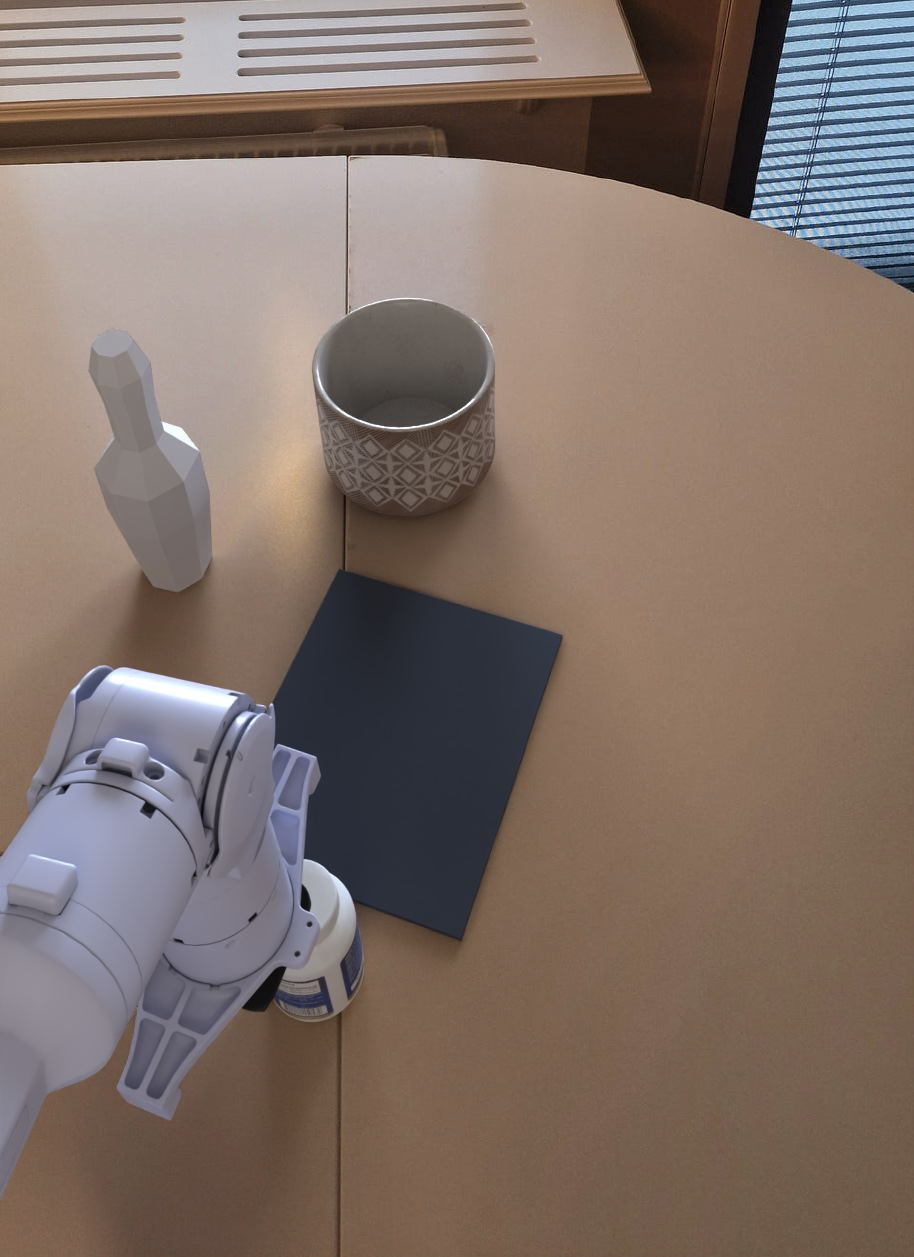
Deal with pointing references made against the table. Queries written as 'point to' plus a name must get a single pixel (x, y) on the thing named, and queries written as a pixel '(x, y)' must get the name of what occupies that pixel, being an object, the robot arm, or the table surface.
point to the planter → (406, 405)
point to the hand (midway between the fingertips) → (255, 980)
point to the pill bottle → (325, 953)
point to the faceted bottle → (150, 470)
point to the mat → (411, 741)
